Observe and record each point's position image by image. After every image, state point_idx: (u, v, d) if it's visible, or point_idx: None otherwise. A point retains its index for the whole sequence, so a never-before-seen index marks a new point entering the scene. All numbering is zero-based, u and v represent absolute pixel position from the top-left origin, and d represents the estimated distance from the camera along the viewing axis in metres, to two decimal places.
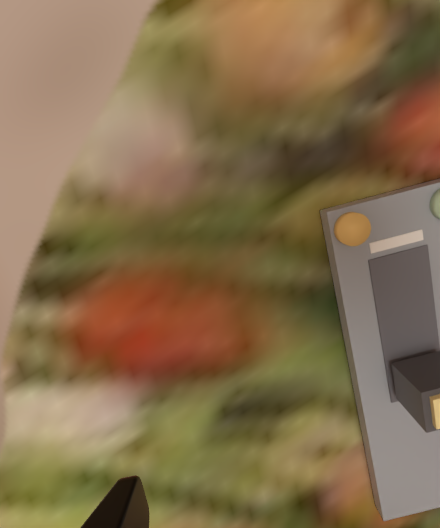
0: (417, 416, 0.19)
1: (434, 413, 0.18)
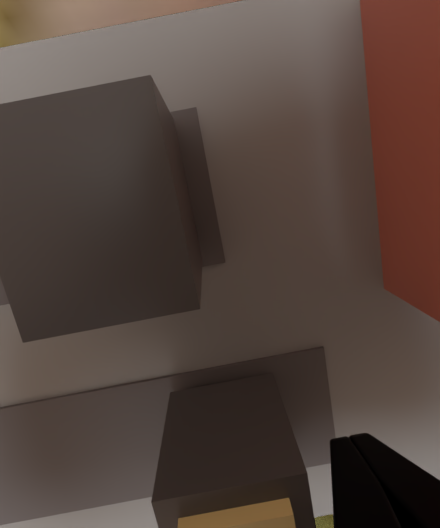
0: None
1: None
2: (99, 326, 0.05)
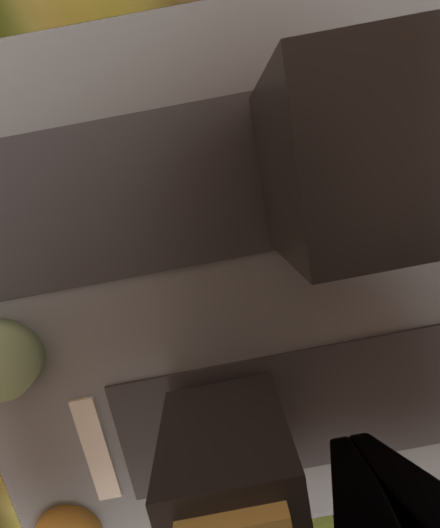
0: None
1: None
2: (391, 268, 0.05)
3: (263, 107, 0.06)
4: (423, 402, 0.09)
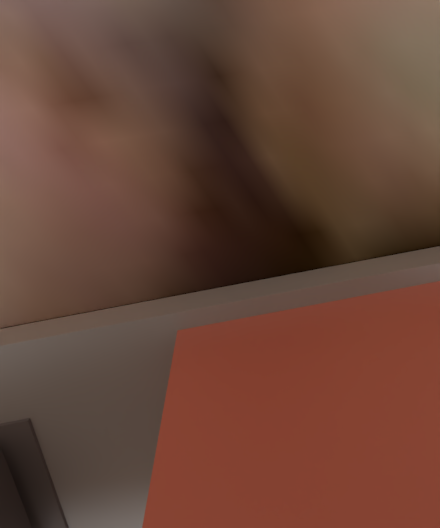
0: None
1: None
2: None
3: None
4: None
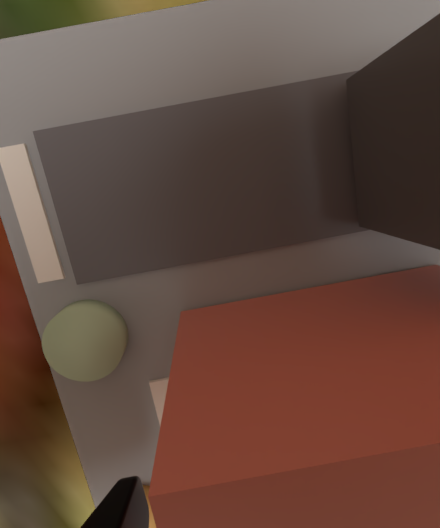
0: None
1: None
2: None
3: (381, 85, 0.06)
4: None
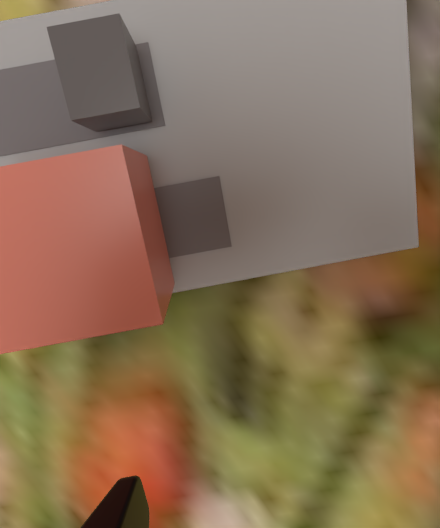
0: None
1: None
2: (100, 114, 0.13)
3: None
4: (192, 225, 0.17)
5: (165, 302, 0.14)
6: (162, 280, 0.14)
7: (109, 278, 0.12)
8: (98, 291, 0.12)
